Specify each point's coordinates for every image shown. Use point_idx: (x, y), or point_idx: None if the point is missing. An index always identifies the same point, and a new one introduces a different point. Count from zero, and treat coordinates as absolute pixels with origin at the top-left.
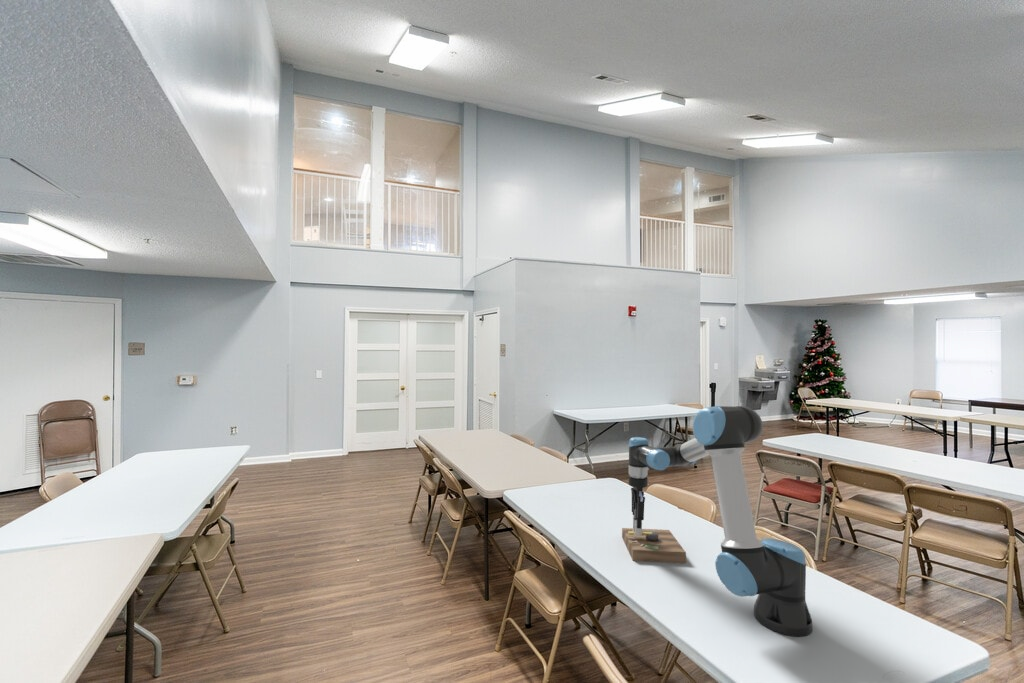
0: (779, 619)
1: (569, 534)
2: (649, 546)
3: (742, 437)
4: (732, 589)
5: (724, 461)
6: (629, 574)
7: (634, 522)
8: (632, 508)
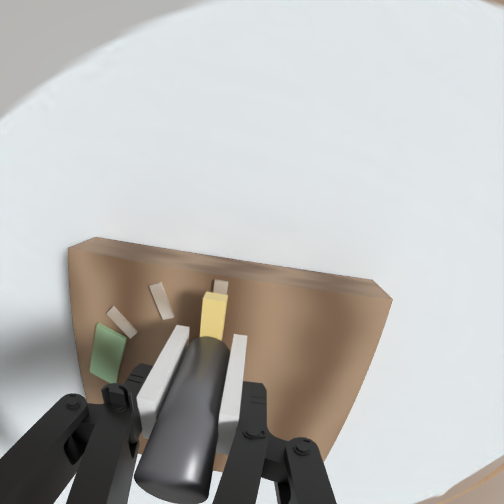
0: None
1: (413, 25)
2: (105, 349)
3: None
4: None
5: None
6: (13, 187)
7: (187, 381)
8: (290, 471)
